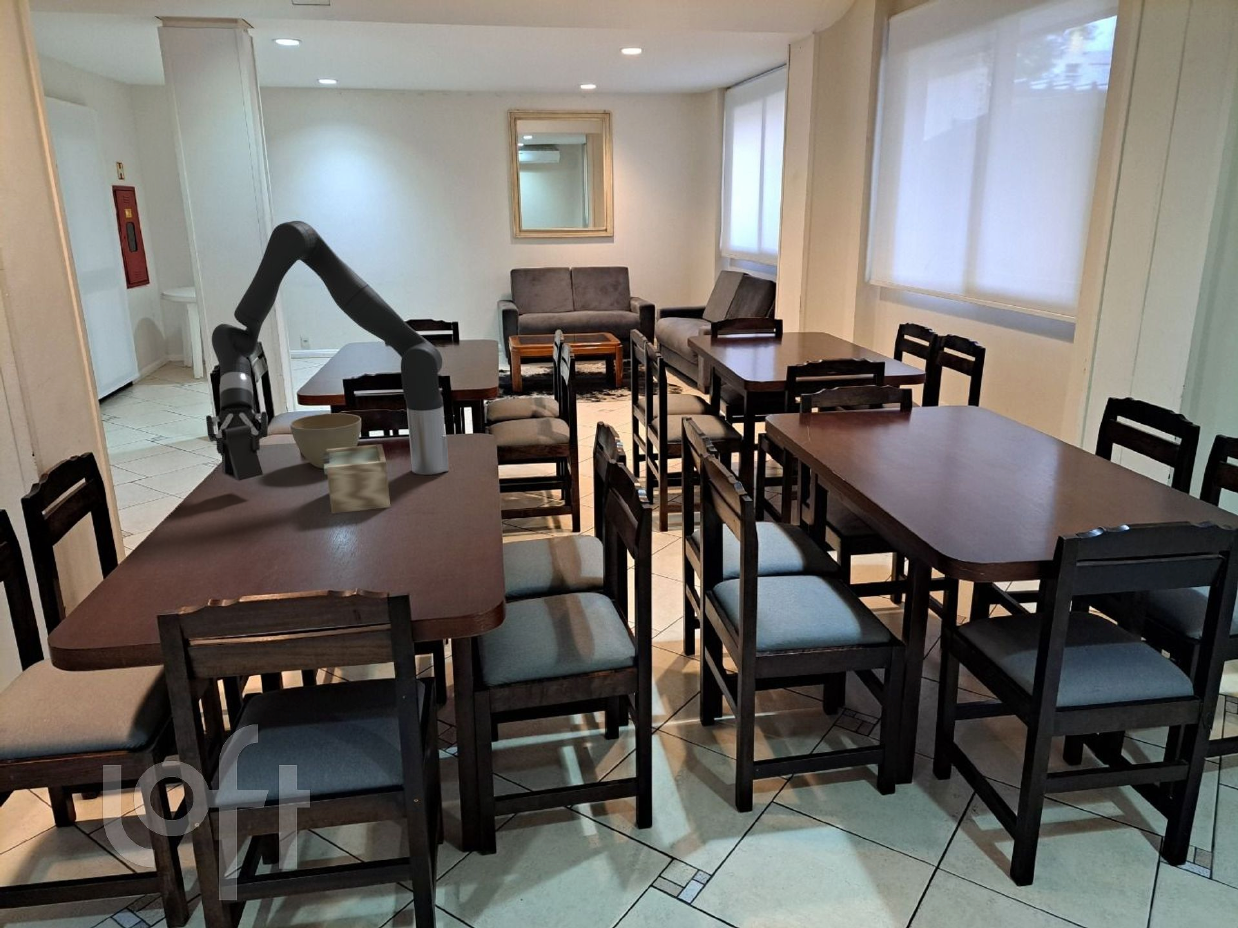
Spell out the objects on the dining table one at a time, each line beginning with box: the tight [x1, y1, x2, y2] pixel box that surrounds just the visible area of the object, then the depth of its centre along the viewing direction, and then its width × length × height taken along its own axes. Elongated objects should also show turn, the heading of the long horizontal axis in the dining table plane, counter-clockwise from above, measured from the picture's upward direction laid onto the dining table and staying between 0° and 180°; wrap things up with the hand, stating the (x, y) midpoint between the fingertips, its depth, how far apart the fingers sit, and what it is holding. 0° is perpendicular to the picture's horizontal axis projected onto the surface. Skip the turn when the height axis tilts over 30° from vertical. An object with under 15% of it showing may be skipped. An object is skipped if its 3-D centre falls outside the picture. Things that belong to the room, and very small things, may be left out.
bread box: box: [323, 443, 391, 514], centre depth 203 cm, size 14×16×12 cm
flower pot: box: [289, 413, 362, 469], centre depth 231 cm, size 18×18×12 cm
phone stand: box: [221, 424, 264, 482], centre depth 206 cm, size 9×6×12 cm, turn 48°
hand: (238, 452), depth 205 cm, fingers closed on phone stand, 6 cm apart
